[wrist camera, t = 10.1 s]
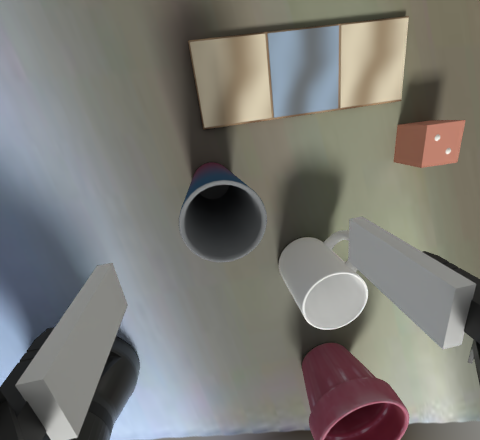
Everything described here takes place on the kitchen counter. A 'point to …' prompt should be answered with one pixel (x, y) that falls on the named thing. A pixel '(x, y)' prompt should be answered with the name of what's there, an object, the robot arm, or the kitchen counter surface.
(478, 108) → the kitchen counter surface
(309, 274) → the mug
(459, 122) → the die
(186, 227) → the cup
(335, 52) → the multicoloured flat piece
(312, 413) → the plant pot
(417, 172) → the kitchen counter surface
